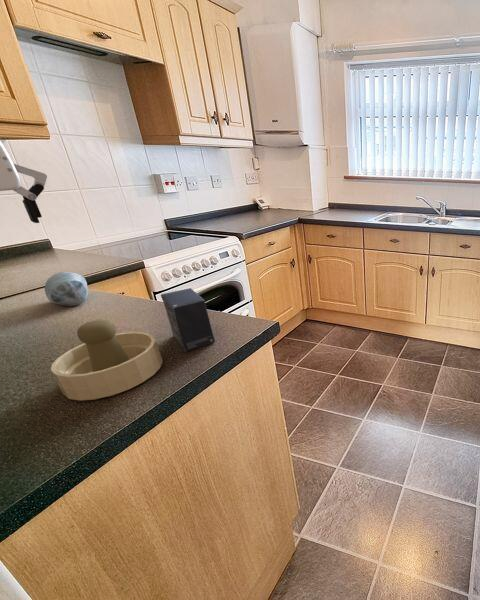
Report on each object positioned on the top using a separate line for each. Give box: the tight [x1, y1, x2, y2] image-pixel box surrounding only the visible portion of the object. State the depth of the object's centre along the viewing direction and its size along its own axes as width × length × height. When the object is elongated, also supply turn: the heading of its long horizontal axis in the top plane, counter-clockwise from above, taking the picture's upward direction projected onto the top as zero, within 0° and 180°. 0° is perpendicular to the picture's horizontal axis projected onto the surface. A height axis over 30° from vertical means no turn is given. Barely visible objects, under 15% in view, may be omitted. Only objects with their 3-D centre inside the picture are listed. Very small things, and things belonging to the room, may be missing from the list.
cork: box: [76, 318, 130, 372], centre depth 62 cm, size 6×6×11 cm
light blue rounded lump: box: [44, 271, 89, 307], centre depth 95 cm, size 14×10×10 cm
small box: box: [160, 287, 216, 353], centre depth 75 cm, size 11×6×10 cm, turn 44°
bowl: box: [50, 331, 163, 401], centre depth 63 cm, size 15×15×6 cm
